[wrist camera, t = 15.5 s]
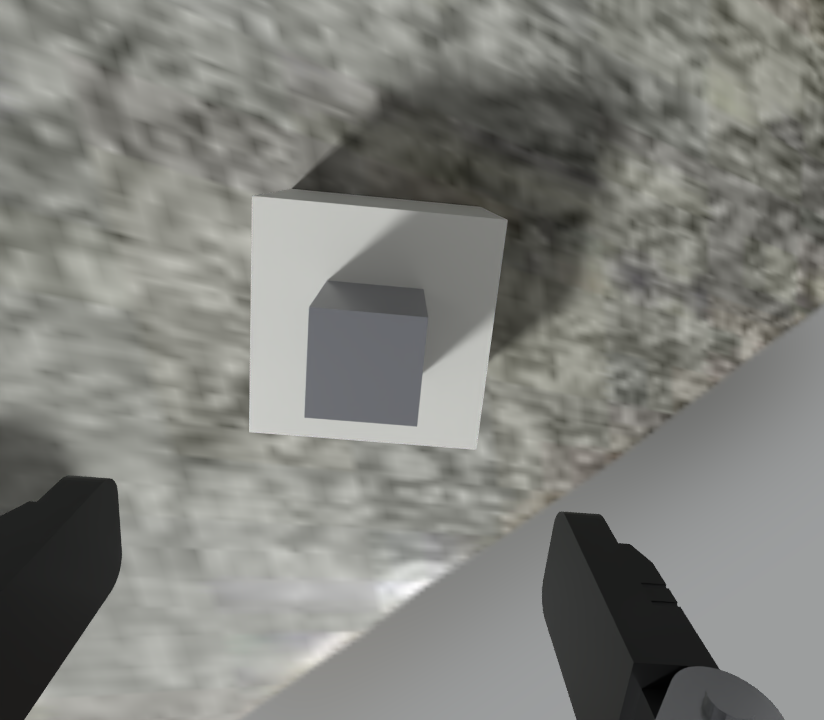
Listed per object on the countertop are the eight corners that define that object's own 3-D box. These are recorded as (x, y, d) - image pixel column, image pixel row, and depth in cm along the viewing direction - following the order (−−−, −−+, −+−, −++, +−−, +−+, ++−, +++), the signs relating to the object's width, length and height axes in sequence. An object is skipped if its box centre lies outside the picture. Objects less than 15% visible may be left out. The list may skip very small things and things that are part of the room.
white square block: (291, 188, 32) (214, 202, 19) (480, 206, 33) (533, 232, 19) (285, 369, 35) (216, 488, 22) (458, 383, 36) (492, 509, 22)
